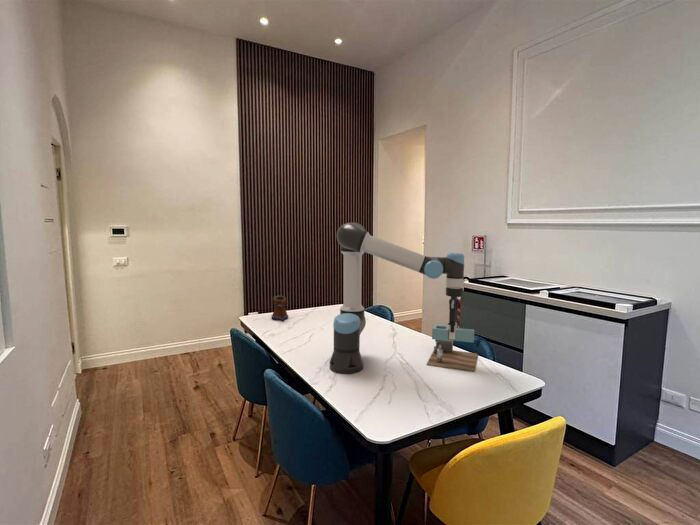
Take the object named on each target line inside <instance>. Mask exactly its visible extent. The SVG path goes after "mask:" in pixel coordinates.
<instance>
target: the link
mask: <svg viewBox="0 0 700 525" xmlns="http://www.w3.org/2000/svg"><path fill="white" fill-rule="evenodd" d="M431 330H432V331H431V339H432V340H433V341H435V340H443V341H448V340H453V342H455V341H456V342H465V343H474V342H475V329H471V328H463V327H462V328H461V327H457V328H456V333H455V339H449V325H440V324H434V325H433V326H432V329H431Z"/></svg>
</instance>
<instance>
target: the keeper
mask: <svg viewBox="0 0 700 525" xmlns="http://www.w3.org/2000/svg"><path fill="white" fill-rule="evenodd" d="M434 341H435V346H433V351H434V354H437V349H439V345H441V349H442V351H443V352H451V353H452V351H453V350H454V340H448V341H443V340H434Z"/></svg>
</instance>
